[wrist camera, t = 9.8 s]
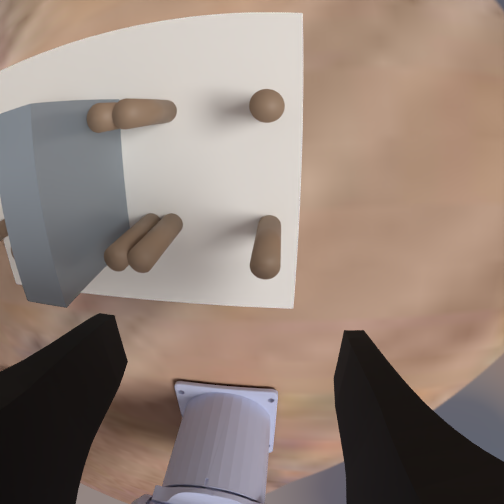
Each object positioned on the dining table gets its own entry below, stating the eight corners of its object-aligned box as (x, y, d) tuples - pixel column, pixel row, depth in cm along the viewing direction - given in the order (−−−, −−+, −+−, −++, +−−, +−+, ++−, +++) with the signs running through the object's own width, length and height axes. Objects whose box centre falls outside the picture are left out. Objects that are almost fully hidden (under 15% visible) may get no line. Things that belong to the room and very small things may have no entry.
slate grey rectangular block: (131, 240, 18) (66, 307, 11) (97, 239, 18) (27, 300, 12) (119, 99, 14) (30, 103, 8) (82, 105, 15) (-9, 117, 8)
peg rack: (292, 299, 20) (294, 361, 15) (23, 278, 21) (-18, 314, 16) (301, 18, 13) (309, -21, 8) (-6, 77, 15) (-62, 83, 10)
